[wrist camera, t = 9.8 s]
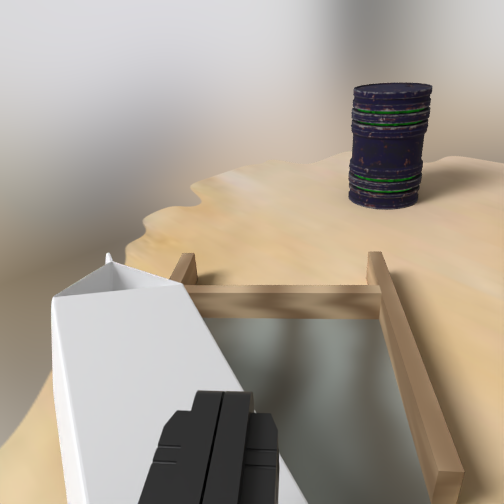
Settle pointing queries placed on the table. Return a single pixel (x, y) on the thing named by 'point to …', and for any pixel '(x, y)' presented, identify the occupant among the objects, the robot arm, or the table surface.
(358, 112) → the dark blue barrel
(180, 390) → the milk carton
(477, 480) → the table surface
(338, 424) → the tray
